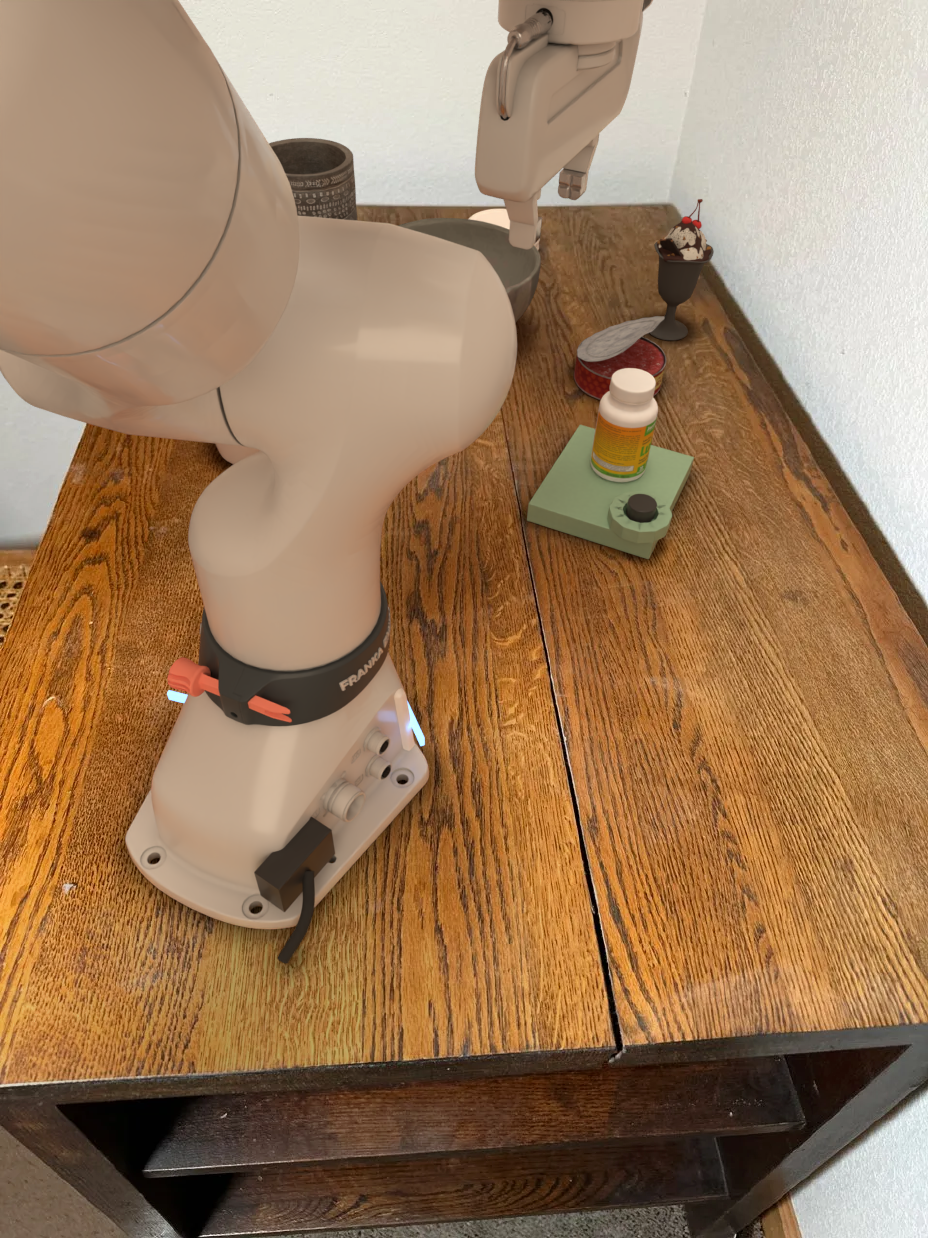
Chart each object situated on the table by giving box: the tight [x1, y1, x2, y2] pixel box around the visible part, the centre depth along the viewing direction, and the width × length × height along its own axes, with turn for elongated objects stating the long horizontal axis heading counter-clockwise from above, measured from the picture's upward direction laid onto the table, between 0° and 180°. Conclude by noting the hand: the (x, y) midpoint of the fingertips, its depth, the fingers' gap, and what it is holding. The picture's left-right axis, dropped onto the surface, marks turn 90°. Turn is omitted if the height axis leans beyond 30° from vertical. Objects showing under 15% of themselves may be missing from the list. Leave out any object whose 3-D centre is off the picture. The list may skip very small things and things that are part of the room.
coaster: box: [468, 208, 542, 251], centre depth 124 cm, size 10×10×4 cm
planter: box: [268, 137, 358, 221], centre depth 118 cm, size 12×12×13 cm
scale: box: [526, 424, 695, 560], centre depth 89 cm, size 15×13×4 cm
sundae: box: [649, 198, 715, 342], centre depth 107 cm, size 7×7×15 cm
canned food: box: [573, 315, 667, 401], centre depth 102 cm, size 11×10×10 cm
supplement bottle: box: [591, 368, 659, 482], centre depth 87 cm, size 5×5×10 cm
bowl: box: [397, 217, 542, 324], centre depth 107 cm, size 20×20×10 cm
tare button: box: [626, 494, 657, 523], centre depth 83 cm, size 3×3×1 cm
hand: (548, 218), depth 67 cm, fingers open, 8 cm apart
